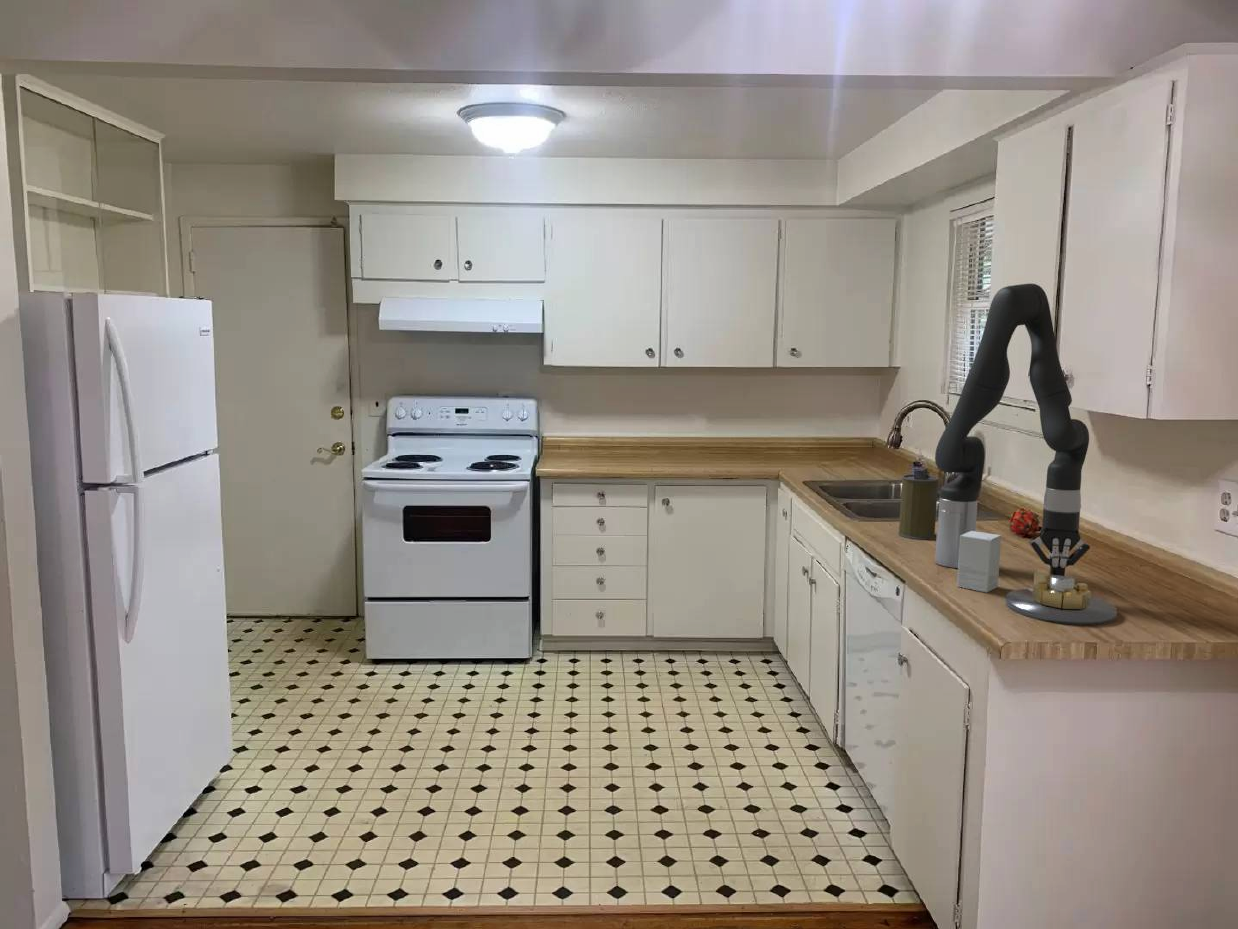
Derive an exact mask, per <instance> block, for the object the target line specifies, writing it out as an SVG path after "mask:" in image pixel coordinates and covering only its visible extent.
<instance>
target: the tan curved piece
mask: <svg viewBox="0 0 1238 929" xmlns="http://www.w3.org/2000/svg"><path fill="white" fill-rule="evenodd" d="M1033 573H1034V574H1033V583H1032V584H1033V585H1032V588H1033V595H1032V599H1034V600H1035V601H1037V602H1038V603H1040V604H1043V605H1048V606H1052V607H1057V608H1062V609H1083V608H1085V607H1087V606H1089V604H1090V596H1091V590H1089V588H1088V584H1087V583H1085V582H1084V583H1083V582H1081V583H1080V582H1079V583H1074V589H1073V588H1067V591H1066V593H1064V592H1058V591H1053V590H1049V588H1050V577H1051V576H1054V575H1053V574H1051V573H1050V571H1048V570H1046V569H1040V568H1039V569H1037V568H1036V569H1034V572H1033Z"/></svg>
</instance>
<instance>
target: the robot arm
mask: <svg viewBox="0 0 1238 929" xmlns="http://www.w3.org/2000/svg"><path fill="white" fill-rule="evenodd" d="M1053 324H1054V323H1053V320H1052V314H1051V307H1050V302H1049V299H1048V296H1047V294H1046V292H1045V290H1044V289H1043V287H1041V285H1039V284H1036V283H1023V284H1022V283H1021V284H1014V285H1007V286H1004V287H1002V288H1000V289H998V291H997V292H996V293H995V295H993V298H992V301H991V303H990V306H989V309H988V313H987V318H986V321H985V325H984V329H983V333H982V335H981V339H980V342H979V345H978V348H977V350H976V353H975V356H974V358H973V362H972V363H971V367H970V369H969V371H968V373H967V377H966V379H965V381H964V384H963V387H962V389H961V393H960V396H959V398H958V399H957V400H958V401H957V403H956V404H955V408H954V410H953V411H952V412H953V413H952V415H951V416H950V419H949V421H948V422H947V425H946V427H945V428H944V430H943V432H942V434H941V437H940V438H939V440H938V443H937V446H936V449H935V454H934V462H935V466H936V468H937V469H939V471H940V472H943V473H948V474H949V473H951V474H952V473H954V474H955V473H956V474H957V473H958V475H957V477H956V478H955V479H953V480H952V481H950V482H948V483H946V484H943V485H942V486H941V487H940V488H939V498H938V499H939V500H938V501H939V503H938V513H937V514H938V517H937V527H936V528H937V529H936V538H935V539H936V541H935V553H934V555H935V556H934V560H935V561H934V562H935V564H937V565H939V566H942V567H949V568H953V569H954V568H955V569H958V562H959V547H960V535H963V534H965V533H967V532H970V531H976V530H977V529H976V528H977V513H978V501H979V500H978V499H979V494H980V491H981V488H982V485H983V484H982V482H983V474H984V467H985V466H984V465H985V459H986V450H985V446H984V443H983V441H982V440H981V438H979V437H977V436H974V435H969V434H970V432H971V431H972V429H974V427H975V426H976V425H977V424H979V422H981V421H982V420H983V419H984V418H986V417H987V416H988V415H989V414H990V413H991V412H992V411H993V410H994V409H995V408H996V407H997V406H998V405H999V404H1000V402H1001V401H1002V398H1003V397H1004V396H1003V395H1004V393H1005V391H1006V388H1007V386H1008V383H1009V380H1010V377H1011V376H1010V375H1011V372H1010V371H1011V370H1010V369H1011V368H1010V364H1009V357H1008V348H1009V344H1010V341H1011V340H1012V336H1013V335H1014V332H1015V331H1016V328H1018V326H1025V329H1026V331H1027V334H1028V335H1029V339H1030V345H1031V346H1030V347H1031V348H1030V349H1031V355H1030V361H1029V372H1028V373H1029V374H1028V375H1029V382H1030V386H1031V388H1032V391H1033V394H1034V397H1035V400H1036V402H1037V405H1038V407H1039V408H1038V409H1039V419H1040V426H1041V433H1042V437H1043V439H1044V441H1045V444H1046V445H1047V446H1048V447H1049V448H1050V449H1051V450H1052V451H1054V452H1055V454H1054V459H1053V460H1052V461H1051V462H1050V463H1049V464H1048V467H1047V470H1046V481H1045V482H1046V483H1045V484H1046V485H1045V492H1044V496H1043V497H1044V498H1043V507H1042V508H1043V509H1042V522H1041V523H1042V524H1041V525H1042V526H1041V527H1042V530H1041V531H1039V534H1038V537H1036V538H1035V539H1034V540H1033V539H1030V540H1029V541H1028V544H1029V545H1030V547H1031V548H1032V549H1033V551H1034V552H1035V554H1036V555H1037V556H1038V557H1039V558H1040V560H1041V561H1042V562H1043V564H1045V565H1049V566H1050V567H1049V573H1051V574H1053V575H1060V576H1066V575H1065V574H1066V568H1067V567H1069V566H1074V565H1075V564H1076V563H1077V562H1078V561H1079V560H1080V559H1081V558H1082V557H1084V555H1085V554H1086V553H1087V552H1088V551H1089V550H1090V548H1091V546H1090V545H1089V544H1088V543H1086V541H1085V542H1084V541H1083V540H1082V539H1081V534H1080V533H1079V531H1080V530H1079V529H1080V517H1081V510H1082V503H1081V502H1082V496H1081V495H1082V494H1081V485H1082V469H1083V465H1084V463H1085V460H1086V456H1087V454H1088V449H1089V444H1090V433H1089V432H1090V431H1089V428H1088V426H1087V425H1086V424H1085V422H1083V421H1081V419H1075V418H1072V417H1071V413H1070V407H1069V406H1070V405H1071V404H1072V402H1073V400H1072V399H1073V398H1072V394H1071V391H1070V388H1069V386H1068V383H1067V380H1066V377H1065V375H1064V372H1063V369H1062V364H1061V362H1060V356H1059V354H1058V353H1059V352H1058V349H1057V342H1056V337H1055V330H1054V325H1053ZM968 435H969V436H968ZM1042 544H1043V545H1044V546H1045V547H1046V549H1047V550H1048V554H1049V555H1048V556H1049V557H1048V556H1047V555H1046V554H1045V553H1044V552H1043V550H1042V549H1041V548H1042V547H1043V545H1042ZM1074 548H1076V549H1075V550H1073V552H1072V553H1071V554H1070V555H1069V552H1071V551H1072V549H1074Z"/></svg>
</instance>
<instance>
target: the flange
mask: <svg viewBox="0 0 1238 929" xmlns="http://www.w3.org/2000/svg"><path fill="white" fill-rule="evenodd" d="M1075 581H1076V579H1075V578H1073V577H1071V576H1067V575H1065V576H1060V575H1054V576H1051V577H1050V588H1049V590H1053V591H1058V592H1064V593H1066V591H1067V588H1073V589H1074V584H1076V583H1075ZM1032 595H1033V587H1032V588H1021V589H1016V590H1012V591H1009V592H1008V593H1006V595H1005V606H1006V607H1007V608H1008V607H1009V608H1008V609H1010V610H1011V611H1012V612H1015V613H1017V614H1019V615H1021V616H1025V617H1028V618H1032V619H1035V620H1038V621H1042V622H1043V621H1044V622H1047V623H1048V622H1049V623H1054V624H1059V625H1061V624H1062V625H1069V626H1070V625H1071V626H1100V625H1101V626H1102V625H1107V624H1111V623H1113V622H1115V621H1116V620H1117V618H1118V617H1117V615H1118V609H1117V607H1116V606H1115V605H1113V604H1112V603H1110V602H1108V601H1106V600H1104V599H1101V598H1098V597H1094V596H1092V595H1090V604H1089V606H1087V607H1085V608H1083V609H1062V608H1057V607H1052V606H1048V605H1043V604H1040V603H1038V602H1037V601H1035V600H1034V599H1032Z"/></svg>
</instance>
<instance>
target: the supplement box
mask: <svg viewBox="0 0 1238 929" xmlns="http://www.w3.org/2000/svg"><path fill="white" fill-rule="evenodd" d="M1001 541H1002V535H1001V534H994V533H990V532H988V533H987V532H982V531H977V530H975V531H970V532H967V533H965V534H963V535H960V547H959V562H958V568H957V583H956V587H957V586H958V587H957V588H961V587H962V588H961V589H967V590H971V589H972V591H977V592H982V593H989V592H991V591H993V590H994V589H996V588H998V587H999V574H1000V572H999V571H1000V557H1001V544H1002V542H1001Z"/></svg>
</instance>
